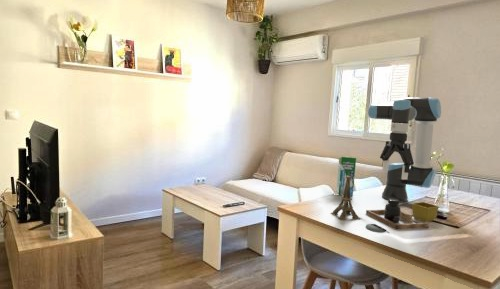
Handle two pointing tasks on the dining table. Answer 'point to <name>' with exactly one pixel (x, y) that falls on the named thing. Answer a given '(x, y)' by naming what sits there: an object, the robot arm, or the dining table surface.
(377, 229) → the coaster
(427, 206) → the flower pot
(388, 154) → the robot arm
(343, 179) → the milk carton
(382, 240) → the dining table surface
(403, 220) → the offcut middle
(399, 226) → the frame
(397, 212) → the supplement bottle
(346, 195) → the eiffel tower
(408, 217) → the offcut top
